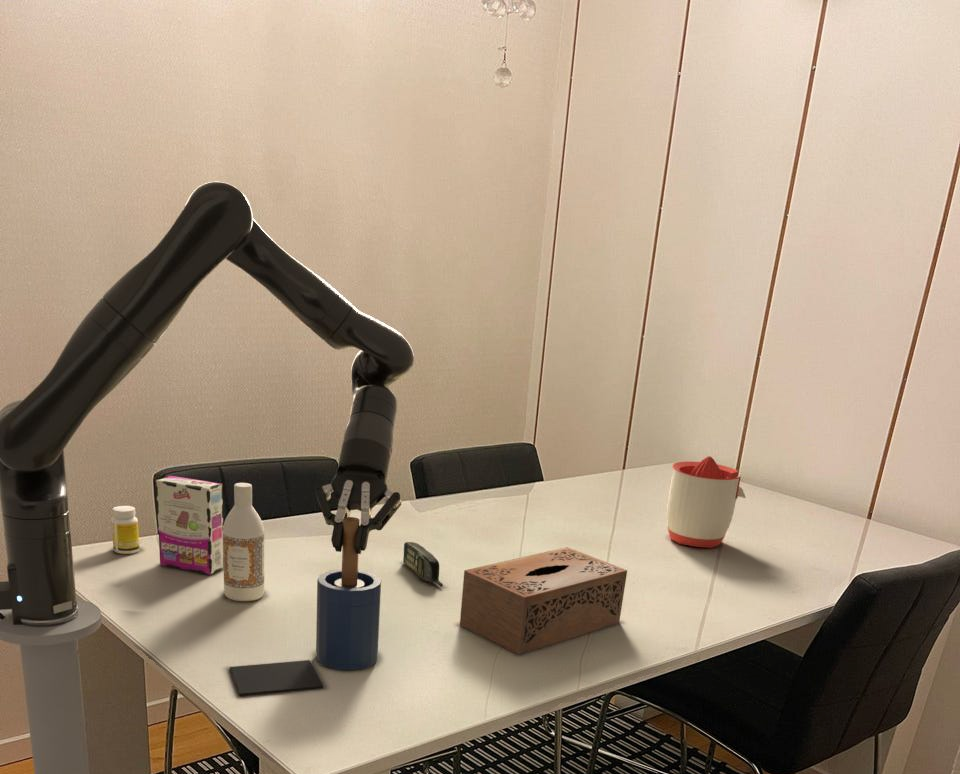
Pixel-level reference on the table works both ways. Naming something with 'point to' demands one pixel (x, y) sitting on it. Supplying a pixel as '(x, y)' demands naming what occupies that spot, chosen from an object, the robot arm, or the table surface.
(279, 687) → the mat
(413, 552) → the mobile phone
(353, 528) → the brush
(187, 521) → the candy bar box
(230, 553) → the bath foam
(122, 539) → the supplement bottle
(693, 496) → the citrus juicer
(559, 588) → the tissue box cover
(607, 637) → the table surface
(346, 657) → the blue pen holder
